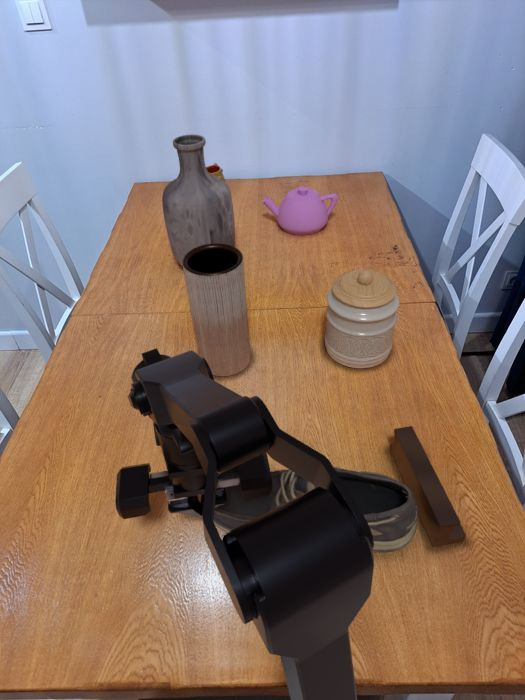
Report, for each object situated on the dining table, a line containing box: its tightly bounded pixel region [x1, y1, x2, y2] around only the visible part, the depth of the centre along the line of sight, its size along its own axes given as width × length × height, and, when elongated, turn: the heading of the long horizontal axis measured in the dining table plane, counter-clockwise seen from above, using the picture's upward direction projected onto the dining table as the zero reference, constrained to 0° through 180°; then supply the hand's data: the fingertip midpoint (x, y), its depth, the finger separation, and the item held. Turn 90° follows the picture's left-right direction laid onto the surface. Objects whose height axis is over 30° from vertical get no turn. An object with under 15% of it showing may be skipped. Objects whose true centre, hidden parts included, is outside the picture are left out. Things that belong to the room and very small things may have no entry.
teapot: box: [262, 185, 339, 236], centre depth 131 cm, size 14×20×11 cm
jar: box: [324, 268, 401, 369], centre depth 90 cm, size 13×13×18 cm
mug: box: [206, 162, 226, 182], centre depth 154 cm, size 12×7×7 cm, turn 173°
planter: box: [182, 243, 252, 377], centre depth 88 cm, size 10×10×23 cm
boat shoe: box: [213, 466, 419, 553], centre depth 67 cm, size 11×29×11 cm, turn 86°
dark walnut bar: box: [390, 425, 467, 548], centre depth 70 cm, size 16×5×6 cm, turn 9°
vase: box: [161, 134, 236, 267], centre depth 112 cm, size 16×16×30 cm
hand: (202, 514), depth 66 cm, fingers closed
